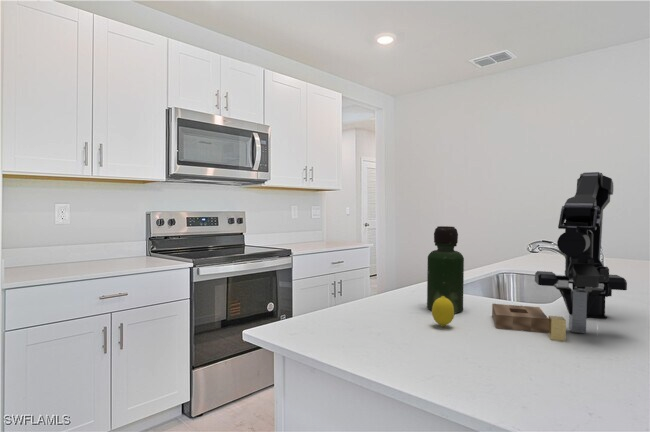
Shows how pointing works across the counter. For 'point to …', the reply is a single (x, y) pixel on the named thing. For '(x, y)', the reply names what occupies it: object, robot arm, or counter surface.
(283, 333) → the counter surface
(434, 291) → the dark green bottle
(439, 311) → the lemon
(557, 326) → the short pin
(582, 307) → the long pin
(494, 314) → the socket block
